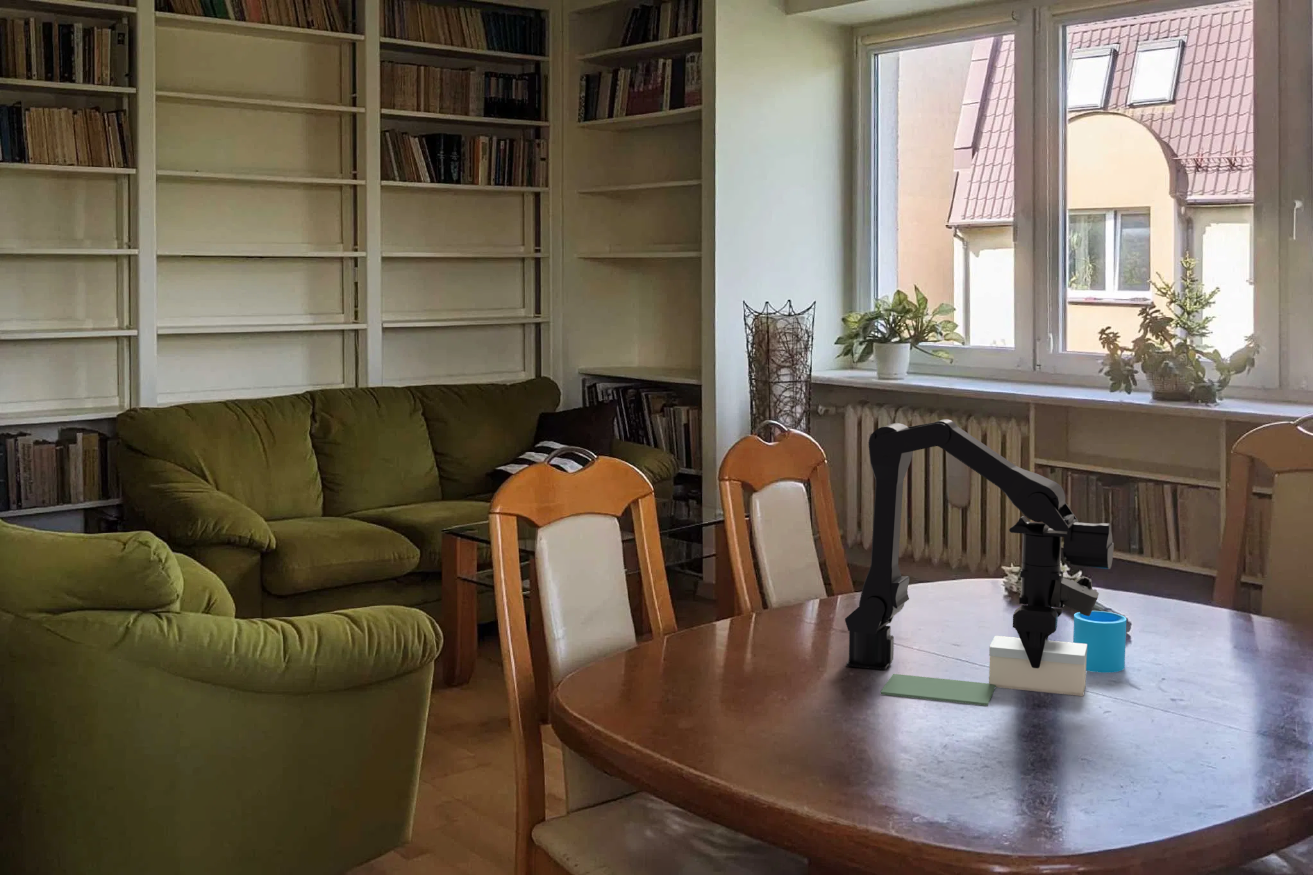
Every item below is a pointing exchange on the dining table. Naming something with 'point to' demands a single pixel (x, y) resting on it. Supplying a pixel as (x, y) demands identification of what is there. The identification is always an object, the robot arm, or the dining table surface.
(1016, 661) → the pencil box
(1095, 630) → the mug
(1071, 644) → the lid
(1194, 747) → the dining table surface
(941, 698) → the felt mat
